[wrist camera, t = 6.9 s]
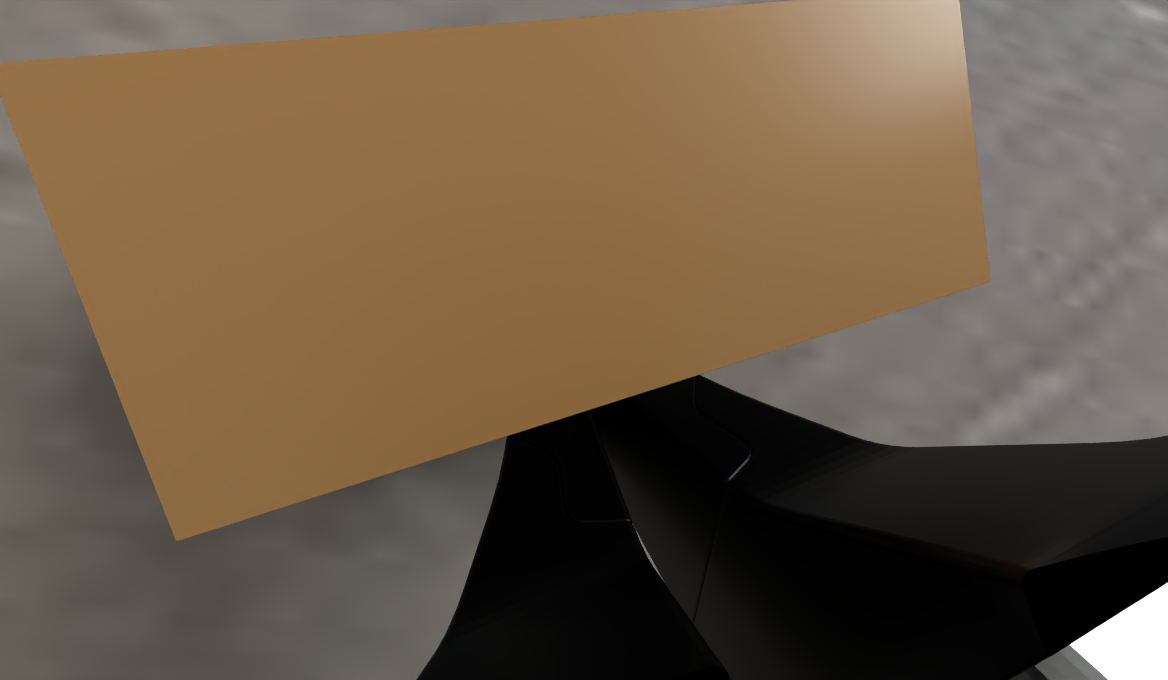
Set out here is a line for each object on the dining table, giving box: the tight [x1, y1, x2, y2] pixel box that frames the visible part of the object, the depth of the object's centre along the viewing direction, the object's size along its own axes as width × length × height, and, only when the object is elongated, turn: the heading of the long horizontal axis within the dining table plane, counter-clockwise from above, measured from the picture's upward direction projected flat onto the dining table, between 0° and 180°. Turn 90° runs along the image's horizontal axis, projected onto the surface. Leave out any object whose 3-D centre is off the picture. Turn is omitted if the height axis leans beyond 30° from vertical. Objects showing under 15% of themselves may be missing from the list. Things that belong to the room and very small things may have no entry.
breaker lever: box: [0, 0, 991, 541], centre depth 8 cm, size 3×7×10 cm, turn 106°
